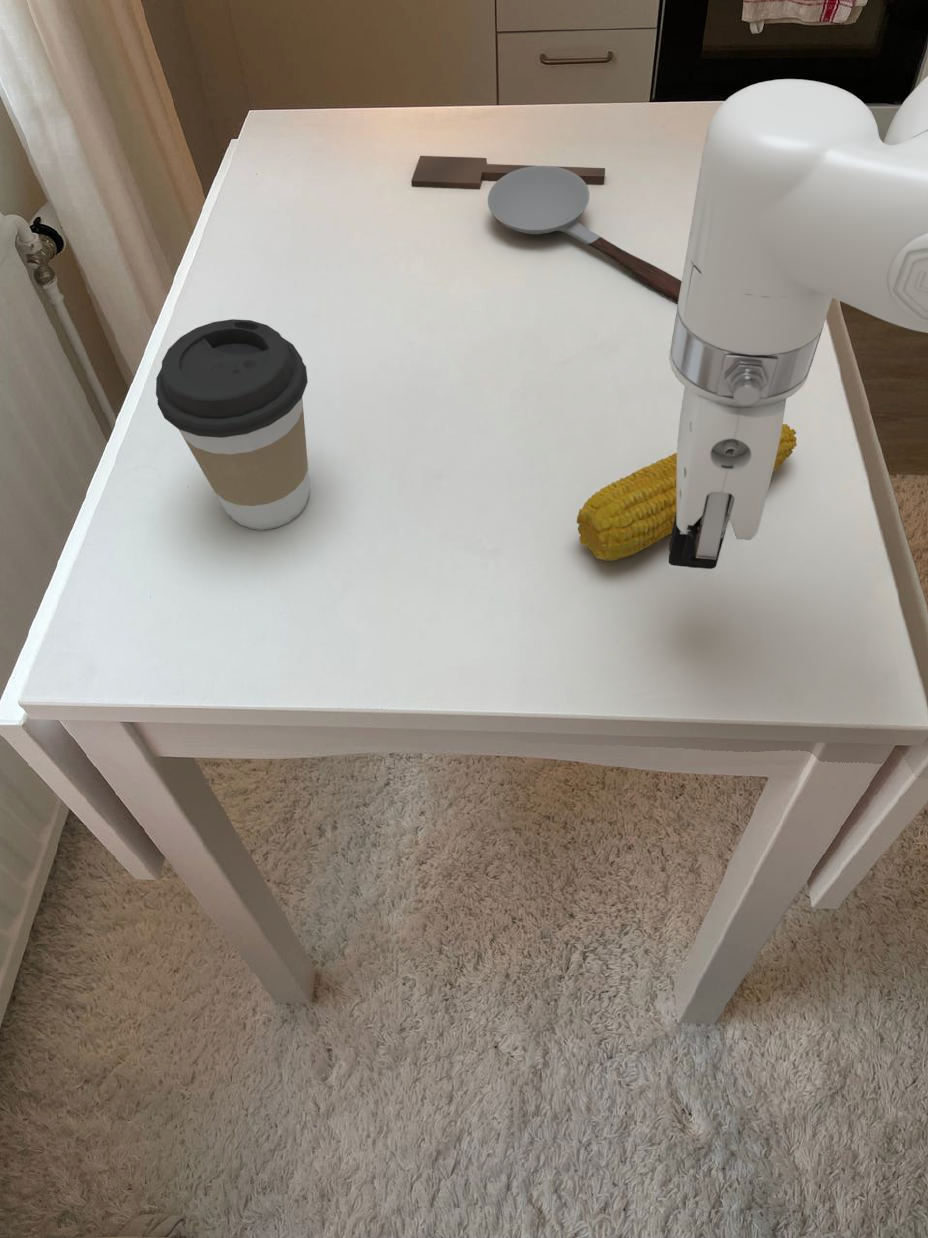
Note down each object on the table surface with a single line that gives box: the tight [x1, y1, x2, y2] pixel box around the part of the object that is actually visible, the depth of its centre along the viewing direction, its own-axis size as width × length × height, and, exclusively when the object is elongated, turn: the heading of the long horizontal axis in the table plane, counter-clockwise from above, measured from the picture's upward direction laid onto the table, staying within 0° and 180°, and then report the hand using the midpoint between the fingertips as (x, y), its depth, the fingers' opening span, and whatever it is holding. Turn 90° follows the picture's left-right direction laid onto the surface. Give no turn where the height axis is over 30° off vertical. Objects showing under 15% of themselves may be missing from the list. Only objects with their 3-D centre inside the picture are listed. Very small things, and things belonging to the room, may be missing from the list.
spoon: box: [487, 165, 682, 302], centre depth 99 cm, size 11×33×3 cm, turn 42°
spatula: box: [411, 155, 606, 190], centre depth 110 cm, size 22×6×1 cm, turn 81°
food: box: [576, 423, 797, 562], centre depth 77 cm, size 21×6×6 cm, turn 124°
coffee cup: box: [155, 318, 311, 531], centre depth 76 cm, size 11×11×15 cm
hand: (691, 558), depth 66 cm, fingers closed
